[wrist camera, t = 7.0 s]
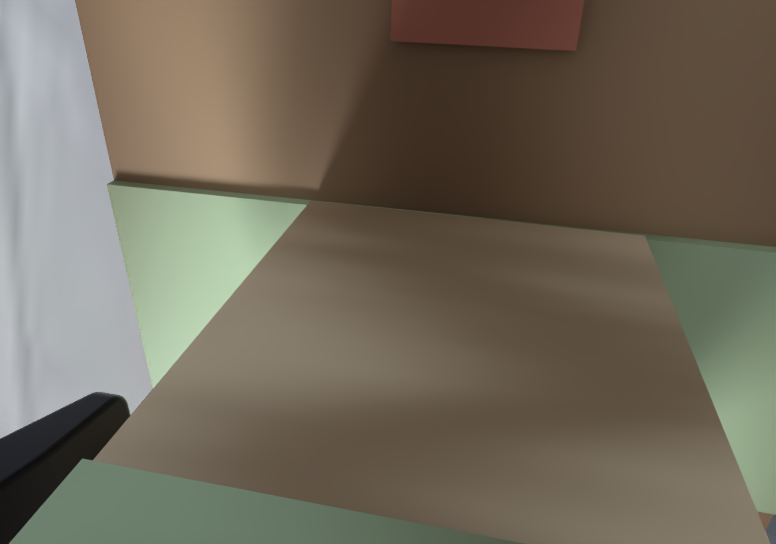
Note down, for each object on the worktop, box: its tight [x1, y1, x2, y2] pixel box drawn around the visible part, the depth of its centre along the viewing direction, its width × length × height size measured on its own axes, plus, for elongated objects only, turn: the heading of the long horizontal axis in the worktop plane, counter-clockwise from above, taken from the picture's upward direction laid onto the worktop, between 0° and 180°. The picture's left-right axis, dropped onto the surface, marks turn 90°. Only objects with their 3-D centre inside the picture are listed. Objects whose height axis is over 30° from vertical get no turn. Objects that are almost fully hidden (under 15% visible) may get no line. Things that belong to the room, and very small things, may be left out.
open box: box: [75, 0, 776, 530], centre depth 11 cm, size 12×12×4 cm
